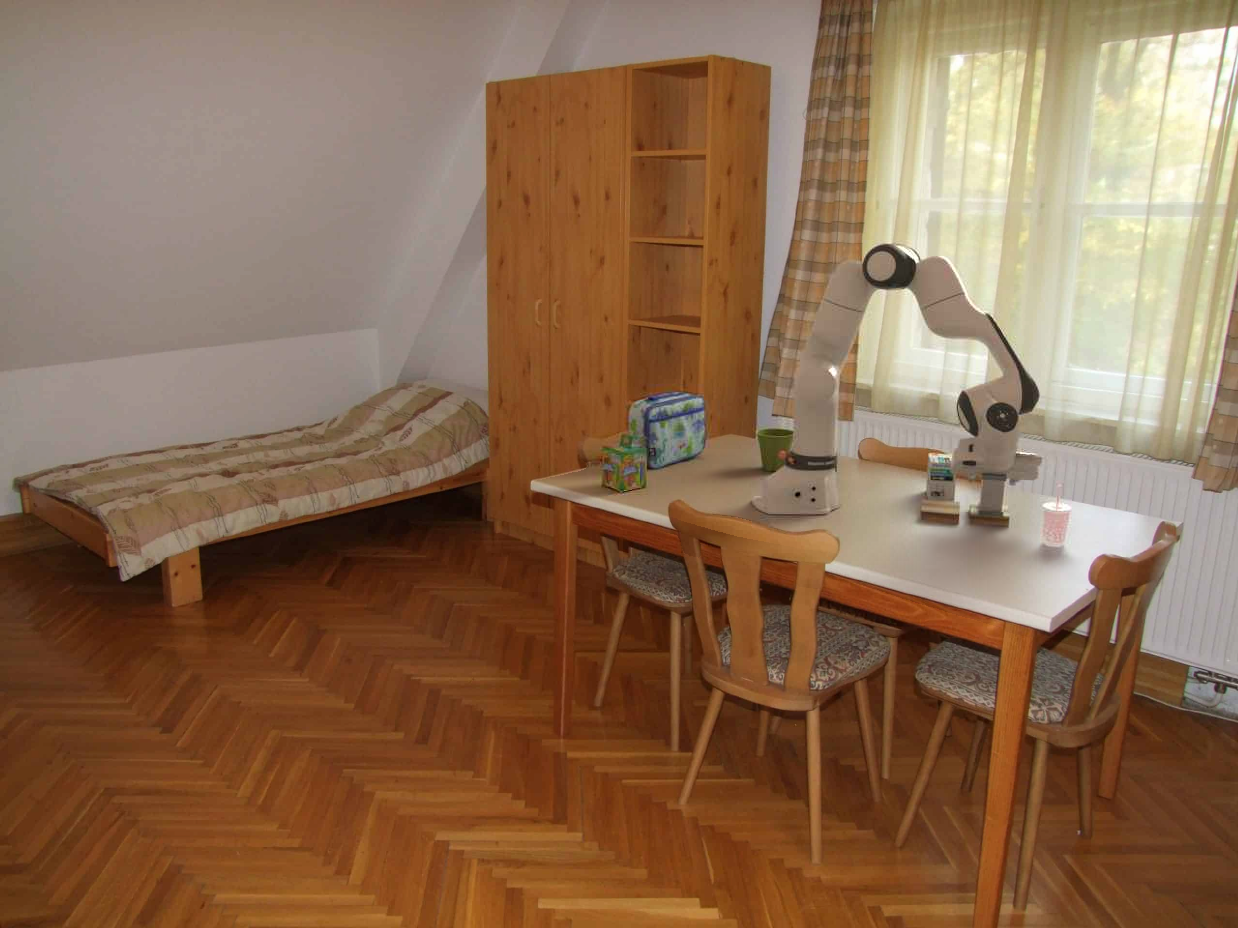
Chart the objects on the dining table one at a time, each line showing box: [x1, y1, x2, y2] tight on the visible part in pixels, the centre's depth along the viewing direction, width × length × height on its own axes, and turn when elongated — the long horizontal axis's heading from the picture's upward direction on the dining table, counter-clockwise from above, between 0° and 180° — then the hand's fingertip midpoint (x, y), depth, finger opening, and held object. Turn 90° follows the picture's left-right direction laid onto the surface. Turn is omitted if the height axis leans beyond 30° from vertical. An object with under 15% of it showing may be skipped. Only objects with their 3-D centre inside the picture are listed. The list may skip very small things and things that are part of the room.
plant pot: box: [755, 427, 793, 472], centre depth 305 cm, size 12×12×11 cm
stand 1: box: [920, 498, 961, 525], centre depth 261 cm, size 11×9×2 cm
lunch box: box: [628, 391, 707, 470], centre depth 313 cm, size 26×11×21 cm, turn 133°
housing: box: [977, 474, 1008, 517], centre depth 255 cm, size 8×6×10 cm
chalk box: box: [601, 433, 648, 491], centre depth 287 cm, size 9×9×15 cm
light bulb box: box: [925, 452, 957, 502], centre depth 277 cm, size 11×7×11 cm, turn 168°
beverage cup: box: [1042, 484, 1073, 548], centre depth 239 cm, size 6×6×14 cm
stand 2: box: [969, 500, 1010, 527], centre depth 259 cm, size 11×9×2 cm
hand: (991, 481), depth 258 cm, fingers open, 8 cm apart
